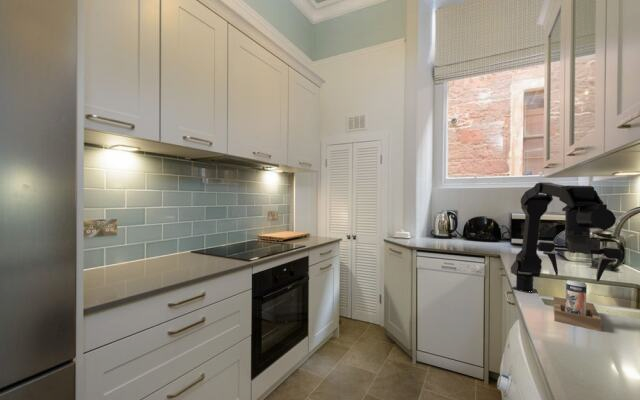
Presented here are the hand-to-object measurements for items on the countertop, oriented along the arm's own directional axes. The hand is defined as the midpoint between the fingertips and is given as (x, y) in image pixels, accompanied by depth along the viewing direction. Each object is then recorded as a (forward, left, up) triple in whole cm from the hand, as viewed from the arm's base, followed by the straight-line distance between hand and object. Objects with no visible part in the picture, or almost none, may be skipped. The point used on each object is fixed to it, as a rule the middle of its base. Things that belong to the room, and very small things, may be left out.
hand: (576, 277), depth 86 cm
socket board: (-4, -1, -13) cm, 14 cm away
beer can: (0, 0, -13) cm, 13 cm away
